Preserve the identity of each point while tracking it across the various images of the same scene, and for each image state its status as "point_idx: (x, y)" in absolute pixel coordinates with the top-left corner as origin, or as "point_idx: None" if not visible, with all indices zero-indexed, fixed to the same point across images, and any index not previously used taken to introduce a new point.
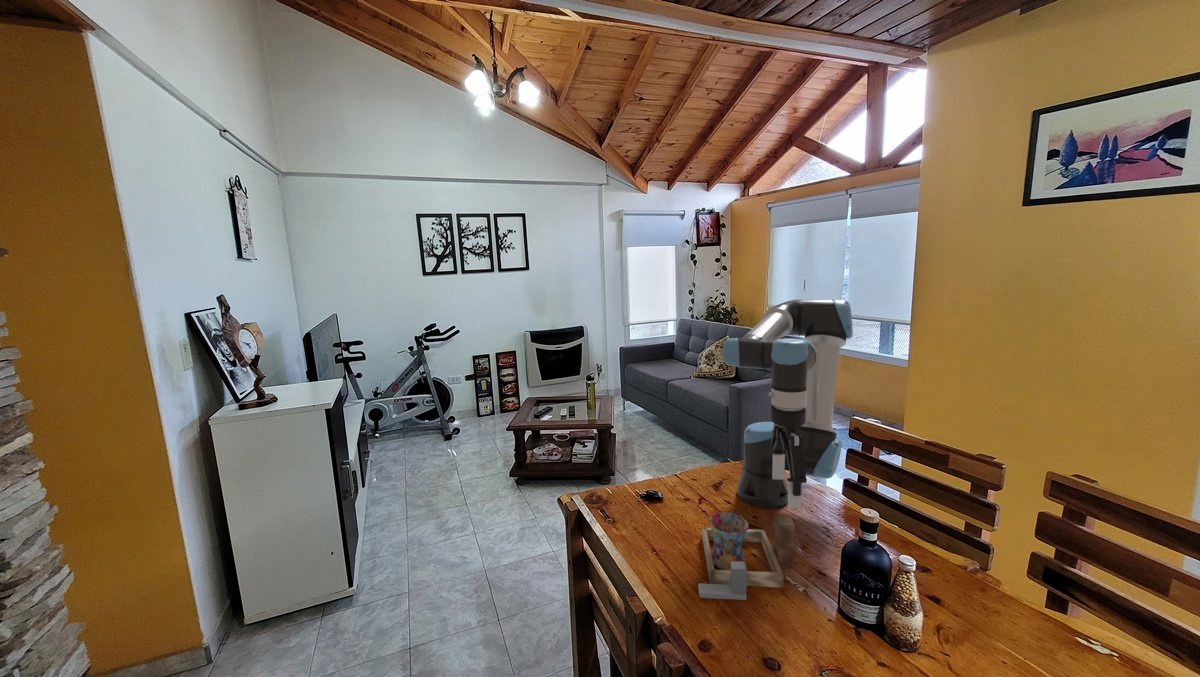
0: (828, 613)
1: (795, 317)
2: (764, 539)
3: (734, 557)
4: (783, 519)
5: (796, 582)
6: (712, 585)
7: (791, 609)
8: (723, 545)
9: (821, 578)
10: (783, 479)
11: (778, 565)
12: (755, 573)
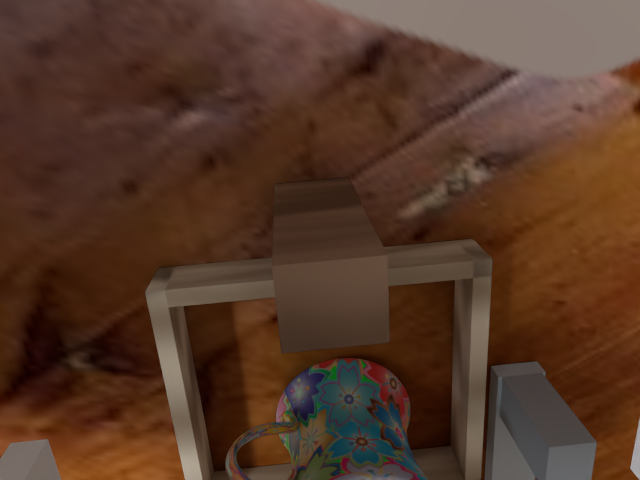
0: (607, 101)
1: None
2: (233, 299)
3: (405, 427)
4: (317, 309)
5: (438, 183)
6: (499, 463)
7: (582, 229)
8: None
9: (405, 70)
10: (49, 445)
11: (427, 268)
12: (482, 357)
